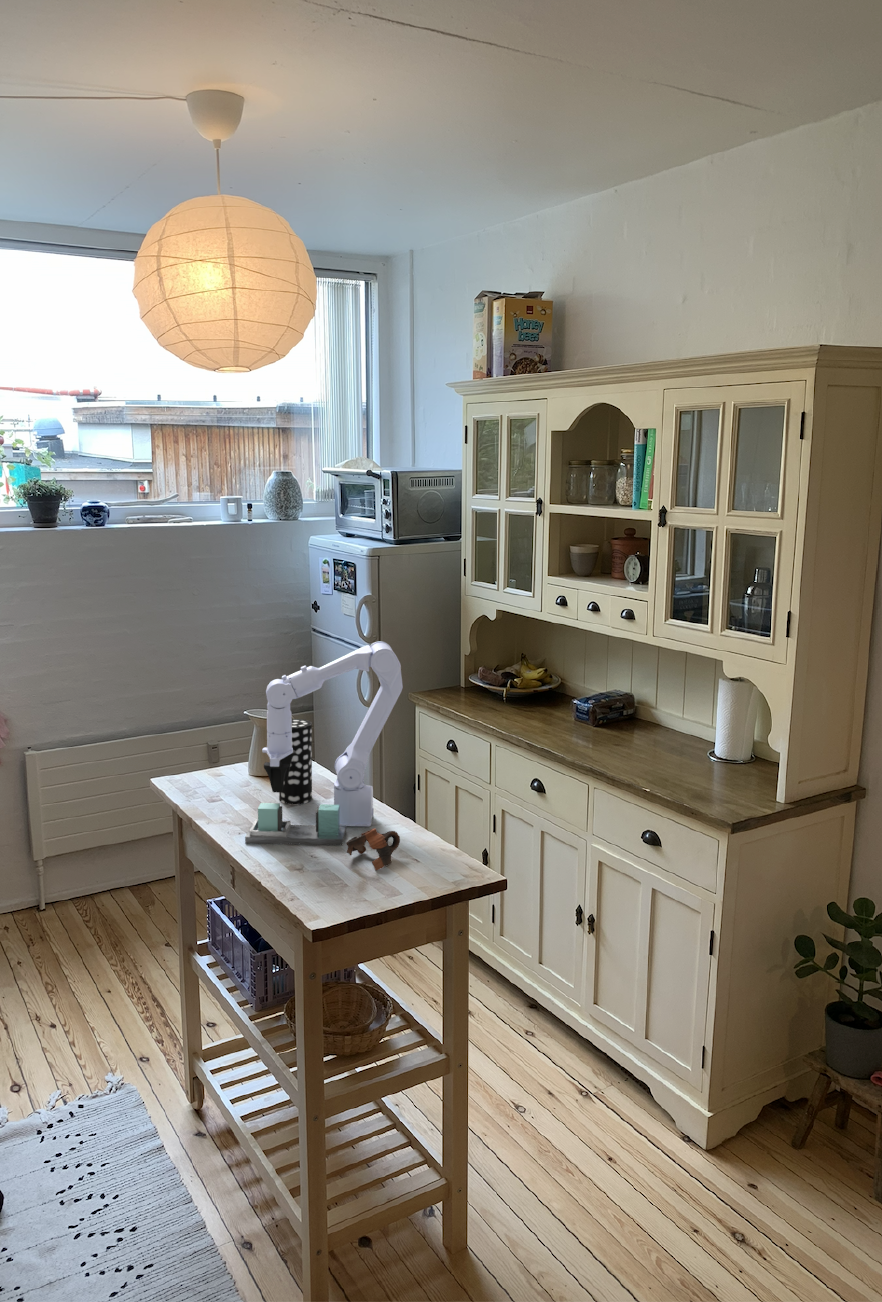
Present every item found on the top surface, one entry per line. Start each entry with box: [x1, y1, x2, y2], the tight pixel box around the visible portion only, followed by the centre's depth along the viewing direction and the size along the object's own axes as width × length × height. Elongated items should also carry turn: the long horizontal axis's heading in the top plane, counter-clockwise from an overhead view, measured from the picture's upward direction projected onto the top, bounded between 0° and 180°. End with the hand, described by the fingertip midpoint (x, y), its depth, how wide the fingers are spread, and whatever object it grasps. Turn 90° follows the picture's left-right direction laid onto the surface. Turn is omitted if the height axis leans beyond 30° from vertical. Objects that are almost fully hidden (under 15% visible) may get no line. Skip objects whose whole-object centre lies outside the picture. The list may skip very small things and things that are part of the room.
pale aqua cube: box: [257, 802, 283, 831], centre depth 223 cm, size 5×4×6 cm
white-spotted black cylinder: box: [278, 718, 313, 805], centre depth 246 cm, size 8×8×20 cm
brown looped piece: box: [345, 827, 401, 871], centre depth 212 cm, size 12×10×8 cm
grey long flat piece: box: [244, 803, 347, 846], centre depth 223 cm, size 22×8×8 cm, turn 90°
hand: (280, 786), depth 229 cm, fingers open, 7 cm apart
